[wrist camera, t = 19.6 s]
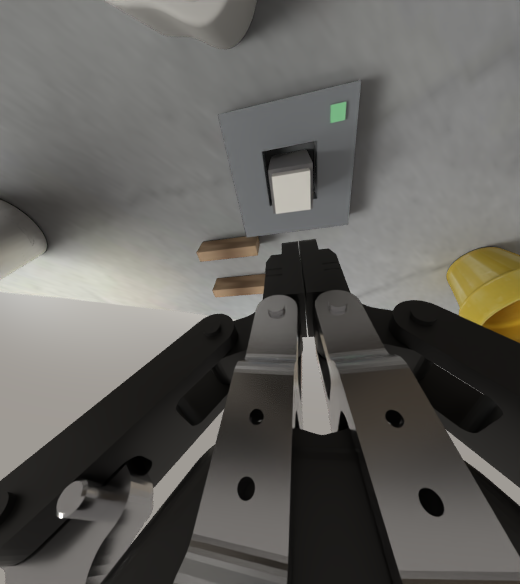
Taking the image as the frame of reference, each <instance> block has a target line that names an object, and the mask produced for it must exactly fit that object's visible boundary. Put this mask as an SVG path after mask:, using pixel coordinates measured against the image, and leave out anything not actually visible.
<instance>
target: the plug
mask: <svg viewBox="0 0 520 584" xmlns="http://www.w3.org/2000/svg"><path fill="white" fill-rule="evenodd" d="M268 174H269V182H270V190H271V198H272V206H273V213H276V214H280V213H287V212H295V211H303V210H310V209H311V208H313V162H312V160H311V158H310V156H309V154H308V152H307V150H306V149H305V150H299V151H294V152H288V153H283V154H277V155H272V157H271V161H270V165H269V169H268Z"/></svg>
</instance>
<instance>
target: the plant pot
mask: <svg viewBox="0 0 520 584" xmlns="http://www.w3.org/2000/svg"><path fill="white" fill-rule="evenodd" d="M447 281H448V283H449V285H450V287H451V289H452V291H453V293H454V295H455V297H456V300H457V302H458V304H459V306H460V310H459V316H461V317H463V318H465V319H468V320H470V321H472V322H474V323H477V324H479V325H481V326H483V327H485V328H488V329H490V330H492V331H494V332H496V333H499V334H501V335H503V336H505V337H508V338H510V339H512V340H514V341H516V342H519V343H520V255H518V254H515V253H512V252H510V251H507V250H504V249H501V248H497V247H485V248H480V249H476V250H474V251H471V252H469V253H467V254H465V255H463V256H462V257H460V258H459V259H457V260H456V261H455V262H454V263H453V264H452V265H451V266H450V268H449V269H448V272H447Z"/></svg>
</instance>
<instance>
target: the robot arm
mask: <svg viewBox="0 0 520 584" xmlns="http://www.w3.org/2000/svg"><path fill="white" fill-rule="evenodd" d="M46 249H47V242H46V239H45V237H44V235H43V233H42V231H41V230H40V229H39V228H38V226H37V225H36V224H35V223H34V222H33V221H32V220H31V219H30V218H29V217H28V216H27V215H25V214H24V213H23V212H22V211H20V210H19V209H17V208H16V207H14V206H12V205H10V204H8V203H7V202H5V201H2V200H0V280H1V279H3V278H4V277H6V276H8V275H9V274H11V273H12V272H14V271H16V270H17V269H19V268H21V267H22V266H24V265H26V264H27V263H29V262H31V261H32V260H34V259H35V258H37V257H39V256H40V255H42V254H43V253H44V252H45V251H46ZM299 249H300V255H299ZM305 311H306V314H305ZM306 319H307V327H308V335H309V337H313V336H314V337H315V344H316V357H317V361H318V365H319V370H320V374H321V379H322V383H323V387H324V392H325V396H326V401H327V405H328V411H329V420H330V425H331V431H332V433H330V434H327V435H318V434H315V433H311V432H308V431H305V430H303V418H302V351H303V341H302V337H307V330H306ZM434 363H435V364H434ZM437 365H438V366H437ZM439 366H440V367H441V368H440V367H439ZM442 368H443V369H442ZM445 370H446V371H445ZM447 371H448V372H449V373H448V372H447ZM450 373H451V374H450ZM453 375H454V376H453ZM455 376H456V377H457V378H456V377H455ZM458 378H459V379H458ZM461 380H462V381H461ZM463 381H464V382H465V383H464V382H463ZM466 383H467V384H466ZM469 385H470V386H469ZM471 386H472V387H473V388H472V387H471ZM474 388H475V389H474ZM477 390H478V391H477ZM479 391H480V392H481V393H480V392H479ZM482 393H483V394H482ZM223 409H224V412H223V416H222V420H221V424H220V428H219V432H218V436H217V440H216V444H215V445H214V446H212V447H211V448H210V449H209V450H208V451H207V452H206V453H205V454H204V455H203V456H202V457H201V458H200V459H199V460H198V461H197V463H195V465H194V466H193V467H192V469H191V470H190V471H189V472H188V474H187V475H186V476H185V477H184V479H183V480H182V481H181V482H180V484H179V485H178V486H177V487H176V489H175V490H174V491H173V492H172V494H171V495H170V496H169V498H168V499H167V500H166V501H165V503H164V504H163V505H162V506H161V508H160V509H159V510H158V511H157V513H156V514H155V515H154V516H153V518H152V519H151V520H150V522H149V523H148V524H147V525H146V526H145V528H144V529H143V530H142V532H141V533H140V534H139V535H138V537H137V538H136V539H135V540H134V542H133V543H132V541H133V539H134V538H135V536H136V535H137V533H138V532H139V530H140V529H141V528H142V526H143V524H144V523H145V522H146V521H147V519H148V518H149V516H150V515H151V513H152V510H153V488H154V487H155V486H156V485H157V483H158V482H159V481H160V480H161V479H162V478H163V477H164V476H165V474H166V473H167V472H168V471H169V470H170V469H171V468H172V466H173V465H174V464H175V463H176V462H177V461H178V460H179V459H180V458H181V456H182V455H183V454H184V453H185V452H186V451H187V450H188V448H189V447H190V446H191V445H192V444H193V443H194V442H195V441H196V439H197V438H198V437H199V436H200V435H201V434H202V433H203V432H204V431H205V429H206V428H207V427H208V426H209V425H210V424H211V423H212V421H213V420H214V419H215V418H216V417H217V416H218V415H219V414H220V413H221V411H222V410H223ZM445 429H446V430H447V431H449V432H450V433H451V434H452V435H454V436H455V437H456V438H457V439H459V440H460V441H461V442H463V443H464V444H465V445H466V446H468V447H469V448H470V449H471V450H473V451H474V452H475V453H477V454H478V455H479V456H480V457H481V458H483V459H484V460H485V461H487V462H488V463H489V464H490V465H492V466H493V467H494V468H495V469H497V470H498V471H499V472H501V473H502V474H503V475H504V476H506V477H507V478H508V479H509V480H511V481H512V482H513V483H514V484H516V485H517V486H518V487H520V343H519V342H516V341H514V340H512V339H510V338H508V337H505V336H503V335H501V334H499V333H496V332H494V331H492V330H490V329H488V328H485V327H483V326H481V325H479V324H477V323H474V322H472V321H470V320H468V319H465V318H463V317H461V316H459V315H457V314H454V313H452V312H450V311H448V310H446V309H443V308H441V307H439V306H437V305H434V304H432V303H428V302H424V301H417V300H410V301H404V302H402V303H399V304H398V305H397V306H396V307H395V308H394V310H393V311H391V310H385V309H378V308H373V307H369V306H366V305H364V304H362V303H361V302H360V300H359V299H358V298H357V297H356V296H355V295H353V294H351V293H350V290H349V288H348V285H347V282H346V280H345V277H344V274H343V272H342V269H341V266H340V264H339V261H338V258H337V256H336V254H335V253H334V252H332V251H331V250H330V249H321V250H318V246H317V242H316V239H311V240H303V241H299V247H298V241H296V242H288V243H282V254H279V255H271V257H270V258H269V259H268V261H267V262H266V271H265V282H264V293H263V300H262V301H261V302H260V303H259V304H258V306H257V308H256V312H254V313H253V314H251V315H249V316H247V317H245V318H242V319H239V320H236V321H232V319H231V318H230V317H229V316H227V315H224V314H214V315H210V316H208V317H206V318H204V319H203V320H201V321H200V322H199V323H197V324H196V325H195V326H194V327H192V328H191V329H190V330H189V331H187V332H186V333H185V334H184V335H182V336H181V337H180V338H179V339H177V340H176V341H175V342H174V343H173V344H171V345H170V346H169V347H167V348H166V349H165V350H164V351H162V352H161V353H160V354H159V355H157V356H156V357H155V358H154V359H152V360H151V361H150V362H149V363H147V364H146V365H145V366H144V367H142V368H141V369H140V370H139V371H137V372H136V373H135V374H134V375H132V376H131V377H130V378H129V379H127V380H126V381H125V382H124V383H122V384H121V385H120V386H119V387H117V388H116V389H115V390H113V391H112V392H111V393H110V394H109V395H107V396H106V397H105V398H103V399H102V400H101V401H100V402H98V403H97V404H96V405H95V406H94V407H92V408H91V409H90V410H88V411H87V412H86V413H85V414H83V415H82V416H81V417H80V418H78V419H77V420H76V421H75V422H73V423H72V424H71V425H70V426H68V427H67V428H66V429H65V430H63V431H62V432H61V433H60V434H59V435H57V436H56V437H55V438H53V439H52V440H51V441H50V442H48V443H47V444H46V445H45V446H43V447H42V448H41V449H40V450H38V451H37V452H36V453H35V454H33V455H32V456H31V457H30V458H28V459H27V460H26V461H25V462H23V463H22V464H21V465H20V466H18V467H17V468H16V469H15V470H13V471H12V472H11V473H10V474H8V475H7V476H6V477H5V478H3V479H2V480H1V481H0V567H1V568H2V569H4V571H5V578H6V584H520V506H519V505H518V504H517V503H516V502H514V501H513V500H512V499H511V498H510V497H508V496H507V495H506V494H505V493H504V492H503V491H501V489H499V488H498V487H497V486H496V485H495V484H493V483H492V482H491V481H490V480H489V479H488V478H486V477H485V476H484V475H483V474H481V473H480V472H479V471H478V470H476V469H475V468H474V467H472V466H471V465H470V464H468V463H467V462H466V461H464V460H463V459H462V457H461V455H460V454H459V452H458V450H457V448H456V447H455V445H454V443H453V442H452V440H451V438H450V436H449V435H448V433H447V431H446V430H445ZM131 543H132V544H131ZM129 546H130V547H129Z"/></svg>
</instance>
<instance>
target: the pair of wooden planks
mask: <svg viewBox="0 0 520 584" xmlns="http://www.w3.org/2000/svg"><path fill="white" fill-rule="evenodd" d="M259 245H260V243H259V238H258V236H255V237H247V236H245V237H237V238H229V239H221V240H214V241H206V242H203V243H202V244H201V246H200V248H199V249H198V251H197V255H198V258H199V260H200V262H202V261H211V260H220V259H229V258H238V257H247V256H256V255H258V251H259ZM264 282H265V274H259V275H248V276H238V277H227V278H217V280H216V283H215V285H214V288H213V290H212V291H213V293H214V295H215V297H225V296H238V295H251V294H263V293H264Z"/></svg>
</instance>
